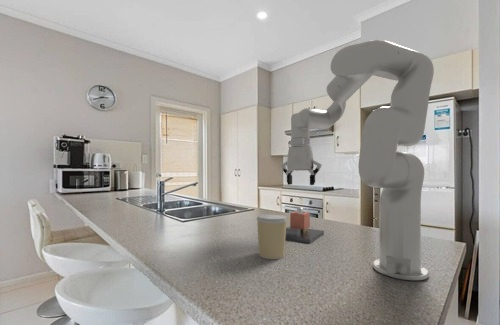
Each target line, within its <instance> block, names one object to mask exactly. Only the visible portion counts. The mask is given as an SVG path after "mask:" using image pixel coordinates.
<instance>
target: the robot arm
mask: <svg viewBox="0 0 500 325" xmlns="http://www.w3.org/2000/svg"><path fill="white" fill-rule="evenodd" d="M434 70H435V69H434V64H433V62H432V60H431V59H430V57H429V56H427V55H426V54H424V53H423V52H419V51H417V50H414V49H411V48H408V47H405V46H403V45H399V44H396V43H394V42H391V41H388V40H383V39H373V40H368V41H364V42H360V43H355V44H351V45H347V46H345V47H343V48H341V49H339V50H338V51H337V52H336V53H335V54H334V55H333V57H332V59H331V62H330V71H331V72H332V74H333V75H334V77H333V78H332V80H331V81H330V82H329V83H328V84H327V85H326V93H327V96H328V97H329V98H330V100H332V103H331V105H329V107H328V108H326V109H325V110H323V109H317V108H310V107H306V108H304V109H301V110H300V111H299V112H295V113H293V114H292V115H291V117H290V126H291V127H290V130H291V131H290V133H291V134H290V141H288V142H287V143H288V145H289V147H288V152H287V160H286V161H285V162H283V163H282V164H281V165H280V167H281V168H282V169H281V170H282V171H283V173H284V174H285V175H286V183H287V185H290V186H291V185H292V184H293V175H292V173H293V172H294V171H308V172H309V173H310V175H309V185H310V186H314V185H315V184H316V175H317V174H318V173H319V171H320V170H321V168H322V167H323V166H322V163H320V162H318V161H316V160H314V154H313V149H312V146H311V145H310V144H311V142H310V139H311V138H310V135H311V133H310V132H311V131H310V129H314V130H315V129H316V130H327V129H330V128H331V127H332V126H333V125H335V124H336V123H337V122H338V121H339V120H340V119H341V118H342V117H343V115H344V113H345V110H346V106H347V101H349V99H350V98H351V97H352V96H353V95H354V94H355V93H356V92H357V91H359V89H361V87H362V86H363V85H365V83H367V82H368V80H370V79H371V77H373V76H376V77H378V78H381V79H387V80H391V81H396V82H397V83H396V84H395V86H394V87H393V89H392V92H391V95H390V104H389V106H380V107H378V108H375V109H374V110H373V111H371V112H370V113H369V115H367V117H366V118H365V121H364V124H363V128H362V134H361V140H360V142H361V143H360V148H359V156H358V174H359V177H360V179H361V181H362V182H363V183H364V185H367V186H368V187H371V188H376V189H382V190H381V192H380V193H381V194H380V197H379V202H378V204H379V207H378V208H379V209H378V210H379V213H378V214H379V216H378V220H379V222H378V223H379V225H378V227H379V228H378V230H379V231H378V232H379V233H378V234H379V238H378V239H379V243H378V244H379V246H378V247H379V248H378V249H379V257H378V259H375V260H373V261H372V264H373V265H372V267H373V268H374V269H375V270H374V271H376V272H378V273H380V274H382V275H384V276H388V277H391V278H393V279H398V280H404V281H422V280H426V279H427V278H428V277H429V271H428V269H426V267H424V266H422V247H421V246H422V238H421V236H422V232H421V231H422V230H421V229H422V228H421V226H422V225H421V223H422V222H421V221H422V220H421V217H422V216H421V214H422V213H421V209H422V208H421V202H422V201H421V200H422V192H423V191H422V190H423V185H424V179H425V168H424V164H423V162H422V161H421V159H420V158H419V157H418V156H416V155H415V154H413V153H411V152H407V151H397V149H398V147H412V146H415V145H416V144H418V143H420V141H421V140H422V139H423V137H424V133H425V128H426V121H427V114H428V108H429V102H430V93H431V87H432V83H433V80H434V79H433V78H434V72H435V71H434ZM314 165H315V166H316V168H314Z"/></svg>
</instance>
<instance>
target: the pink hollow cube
mask: <svg viewBox="0 0 500 325" xmlns="http://www.w3.org/2000/svg"><path fill="white" fill-rule="evenodd" d="M289 214H290V215H289V217H290V218H289V220H290V222H289V224H290V226H289V227H295V228H301V229H302V230H305V229H307V228H308V229H310V226H311V219H310V218H311V213H310V211H309V212H307V211H303V214H300V213H297V210H295V211H292V212H289Z"/></svg>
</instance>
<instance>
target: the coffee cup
mask: <svg viewBox="0 0 500 325" xmlns="http://www.w3.org/2000/svg"><path fill="white" fill-rule="evenodd" d="M256 221H257V239H258V241H257V243H258V253H259V254H258V255H259V257H261V258H263V259H266V260H279V259H282V258H284V257H285V248H286V247H285V246H286V239H285V237H286V228H287V222H288V219H287V216H286V215H284V214H277V213H261V214H259V215H258V216H257V218H256Z"/></svg>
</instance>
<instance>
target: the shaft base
mask: <svg viewBox="0 0 500 325" xmlns="http://www.w3.org/2000/svg"><path fill="white" fill-rule="evenodd" d="M296 211H297V213H300V214H303V212H304V208H303V207H301V206H298V207H296ZM324 235H325V231H324V230H319V229H313V228H307V229H305V230H302V229H301V228H295V227H290V226H286V237H285V241H286V240H287V241H291V242H292V241H294V242H299V243H304V244H312V243H314V242H315V241H316V240H318V239H319V238H321V237H322V236H324Z"/></svg>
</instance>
